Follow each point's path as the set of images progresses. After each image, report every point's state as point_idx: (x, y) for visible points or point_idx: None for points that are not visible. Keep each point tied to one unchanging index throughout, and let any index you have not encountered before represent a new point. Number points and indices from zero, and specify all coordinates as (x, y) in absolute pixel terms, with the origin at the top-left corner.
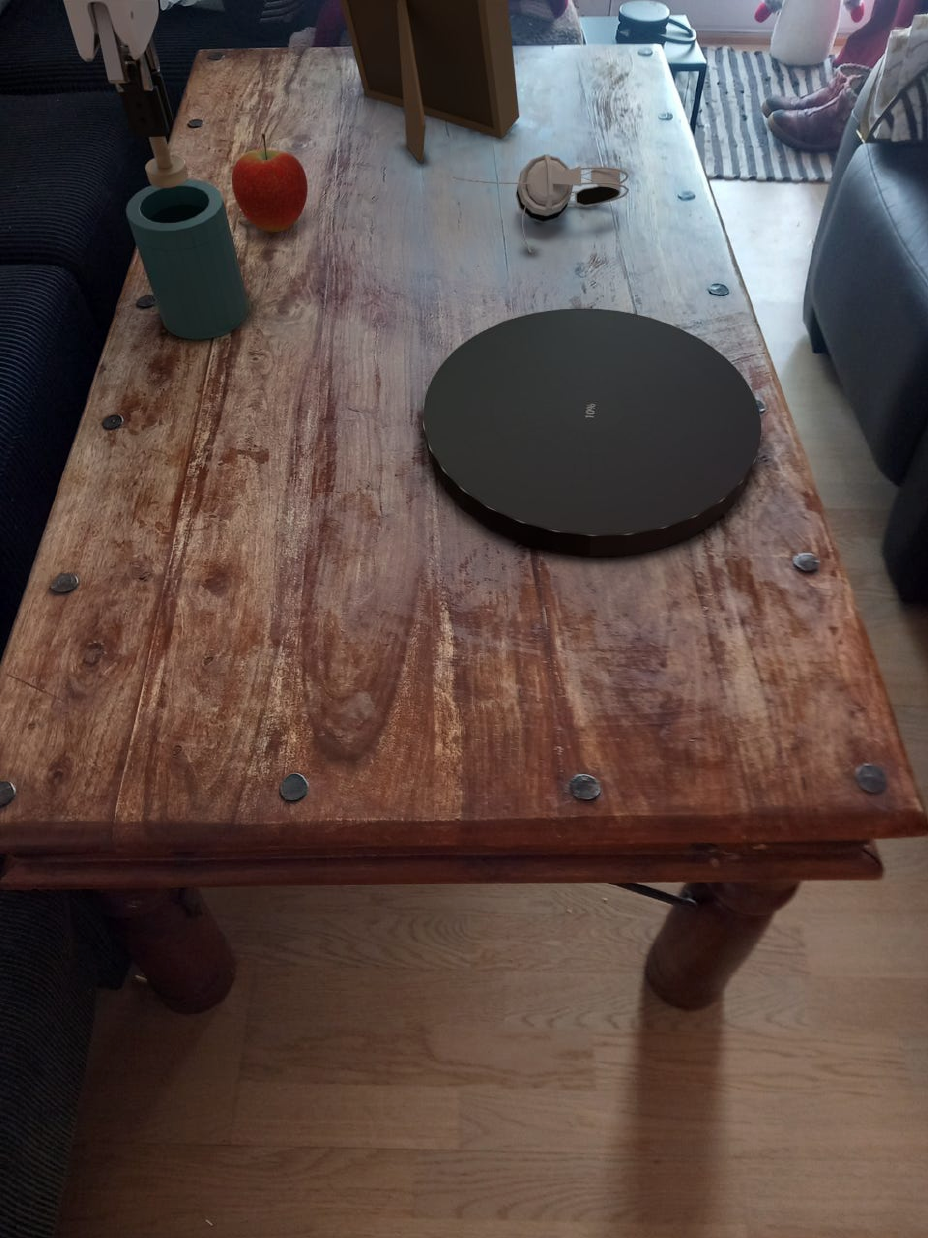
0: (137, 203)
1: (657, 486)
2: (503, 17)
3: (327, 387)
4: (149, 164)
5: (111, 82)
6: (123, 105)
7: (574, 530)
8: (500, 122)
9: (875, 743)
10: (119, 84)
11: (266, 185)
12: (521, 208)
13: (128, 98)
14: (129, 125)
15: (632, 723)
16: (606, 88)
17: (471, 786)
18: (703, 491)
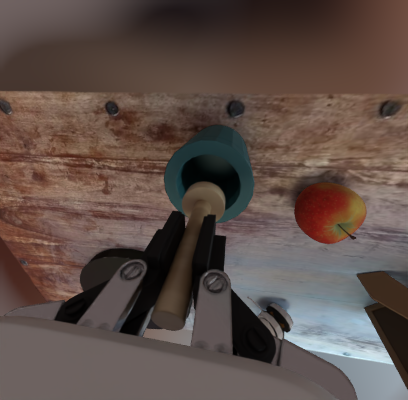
0: (210, 151)
1: None
2: None
3: (154, 218)
4: (204, 191)
5: (11, 313)
6: (158, 236)
7: (82, 284)
8: (369, 317)
9: None
10: (95, 286)
11: (302, 220)
12: (272, 306)
13: (140, 259)
14: (168, 218)
15: (44, 274)
16: None
17: (10, 242)
18: None
